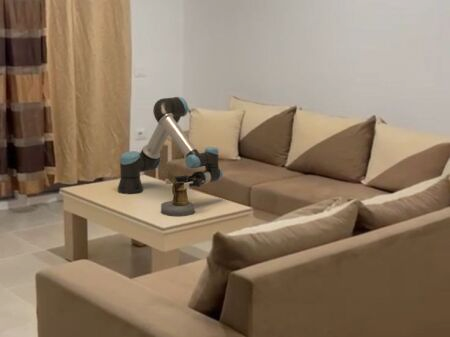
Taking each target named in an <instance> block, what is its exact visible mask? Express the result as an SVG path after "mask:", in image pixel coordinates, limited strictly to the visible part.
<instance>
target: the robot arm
mask: <svg viewBox="0 0 450 337" xmlns="http://www.w3.org/2000/svg"><path fill="white" fill-rule="evenodd" d="M188 112H189V106H188V101H186V100H185V99H184V97H181V96H175V97H165V98H164V97H163V98H161V99H159V100H156V102H155V104H154V105H153V112H152V113H153V116H154V118H155V120H156V122H157V126H156V127H155V128H154V131H153V132H152V135H151V137H150V138H149V141H148V142H147V145H145V146H143V147H142V149H141V151H140V152H139V151H137V150H136V151H134V150H133V151H126V152H123V153H122V154H121V155H120V157H119V158H120V160H119V167H120V168H119V170H120V180H119V183H118V186H117V192H118V193H120V192H121V193H120V194H124V193H128V194H127V195H129V194H131V195H133V193H135V194H139V193H143V192H144V186H143V183H142V181H141V173H144V172H148V171H154V170H156V169H157V168H159V167H160V165H161V162H162V158H161V150H162V149H163V147H164V145H165V142H166V141H167V138H168V137H170V138H171V140H172V141H173V142H174V143H175V145H176V147H177V148H178V149H179V150H180V152H181V153H182V155H183V156H184V158H185V166H186V167H187V168H189V169H198V168H202V167H204V168H205V169H203V170H199V171H195V172H193V173H192V175H185V174H184V175H177V176H176V175H175V176H174V177H175V178H176V179H177V183H184V189H186V188H187V189H189V188H193V187H194V188H195V187H197V188H199V187H201V186H202V185H206V184H209V183H214V182H217V181H220V180H221V179H222V177H223V174H224V173H223V170H222V169H221V168H220V166H219V149H218V148H217V147H215V146H214V147H213V146H212V147H210V146H209V147H208V146H207V147H205V148H204V152H199V151H198V149H197V148H196V147H195V145H194V144H193V142H191V140H190V138H189V137H188V136H187V135H186V133H185V132H184V131H183V129H182V128H181V126H180V125H179V121H180V120H181V118H182V117H186V116H187V114H188ZM164 183H165V184H164V185H167V186H168V185H173V183H172V182H170V181H169V179H168V178H167V179H165V180H164Z"/></svg>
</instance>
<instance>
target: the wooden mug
mask: <svg viewBox="0 0 450 337" xmlns="http://www.w3.org/2000/svg"><path fill="white" fill-rule="evenodd" d="M175 177H176V176H174V175H172V174H170V173H168V174H167V179H169V181H170V182H172V185H171V186H172V187H171V191H172V192H171V193H172V195H173V198H172V200H171V201H172V204H173V205H177V206H184V205H188V204H189V202H190V201H189V199H188V198H189V197H188V191H187V190H188V188H186V189H184V183H185V182H177V179H176V178H175Z"/></svg>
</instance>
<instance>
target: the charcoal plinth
mask: <svg viewBox="0 0 450 337" xmlns="http://www.w3.org/2000/svg"><path fill="white" fill-rule="evenodd" d="M188 202H189V204H188V205H184V206H177V205H173V204H172V200H170V201H169V200H168V201H165V202H162V203H160V204H161V205H160V213H161V214H162V215H164V216H169V217H187V216H188V217H189V216H191V215H194V214H195V208H196V207H195V203H194V202H192V201H188Z"/></svg>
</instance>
